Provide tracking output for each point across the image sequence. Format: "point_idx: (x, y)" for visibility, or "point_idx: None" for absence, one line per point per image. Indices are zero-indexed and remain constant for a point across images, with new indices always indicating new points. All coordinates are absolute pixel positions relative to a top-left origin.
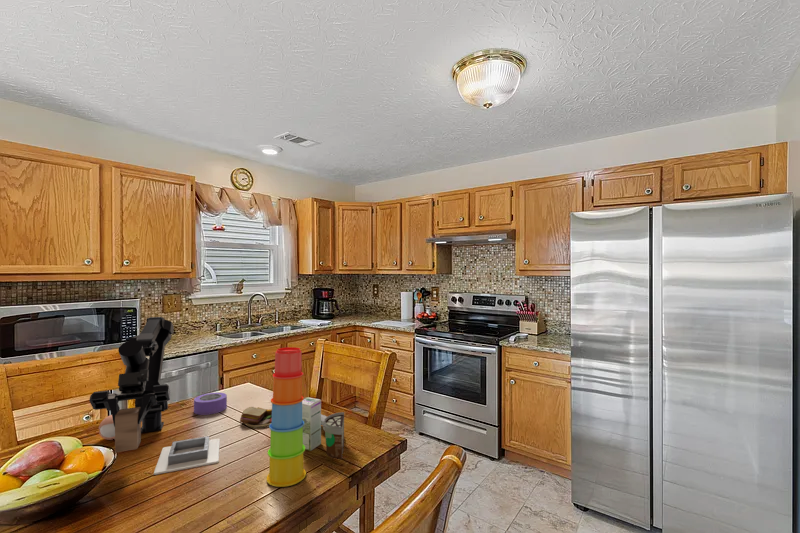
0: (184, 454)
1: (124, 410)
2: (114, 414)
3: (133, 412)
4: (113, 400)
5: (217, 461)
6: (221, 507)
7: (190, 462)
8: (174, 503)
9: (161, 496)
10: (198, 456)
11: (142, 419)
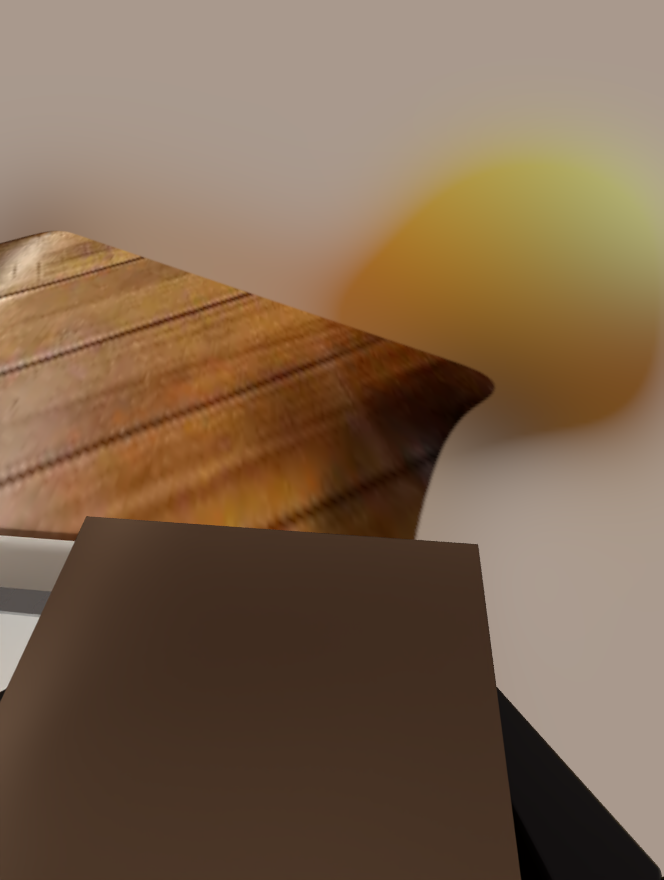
0: (37, 591)
1: None
2: (571, 826)
3: (132, 586)
4: None
5: None
6: (99, 295)
7: (47, 582)
8: (185, 346)
9: (210, 389)
10: None
11: None
